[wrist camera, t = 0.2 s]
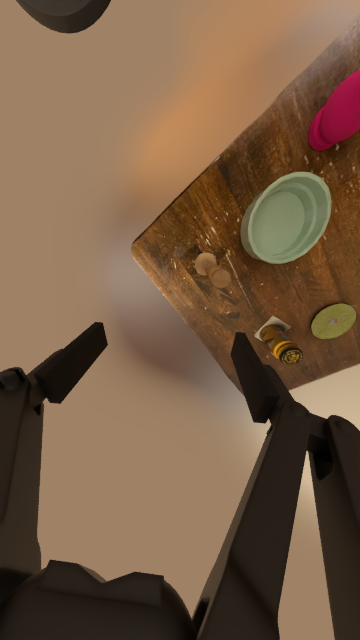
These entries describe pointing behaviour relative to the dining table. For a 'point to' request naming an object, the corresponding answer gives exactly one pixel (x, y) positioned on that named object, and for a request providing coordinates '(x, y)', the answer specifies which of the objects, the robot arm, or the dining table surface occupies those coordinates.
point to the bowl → (286, 218)
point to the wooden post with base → (212, 270)
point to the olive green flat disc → (333, 321)
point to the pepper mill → (337, 115)
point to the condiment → (279, 341)
